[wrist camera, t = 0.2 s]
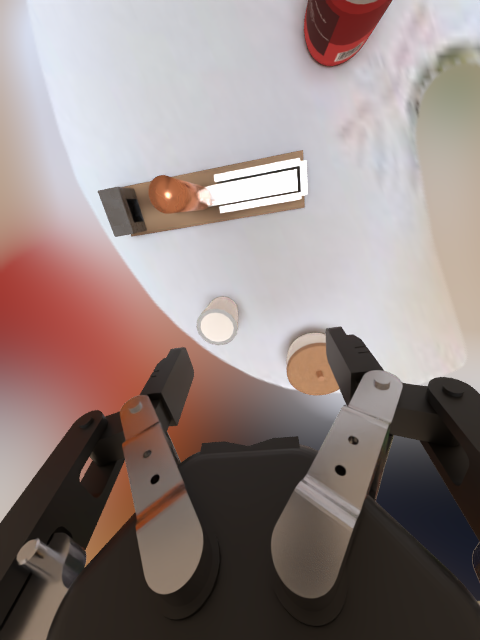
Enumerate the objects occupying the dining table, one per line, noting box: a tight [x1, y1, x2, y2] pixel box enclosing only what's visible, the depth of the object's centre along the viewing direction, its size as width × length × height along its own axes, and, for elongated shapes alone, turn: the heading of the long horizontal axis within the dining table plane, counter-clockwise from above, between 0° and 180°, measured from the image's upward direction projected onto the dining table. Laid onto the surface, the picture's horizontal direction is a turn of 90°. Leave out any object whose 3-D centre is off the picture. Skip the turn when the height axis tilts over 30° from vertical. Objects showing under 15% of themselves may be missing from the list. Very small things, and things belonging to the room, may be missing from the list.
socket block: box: [98, 187, 147, 237], centre depth 34 cm, size 6×3×4 cm, turn 9°
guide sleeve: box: [214, 158, 307, 213], centre depth 32 cm, size 5×12×3 cm, turn 99°
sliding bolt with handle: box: [149, 169, 297, 214], centre depth 27 cm, size 3×18×16 cm, turn 99°
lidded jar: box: [286, 333, 339, 395], centre depth 42 cm, size 11×11×9 cm
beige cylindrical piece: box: [197, 297, 238, 345], centre depth 41 cm, size 7×7×7 cm
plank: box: [124, 150, 305, 236], centre depth 35 cm, size 7×28×1 cm, turn 99°
